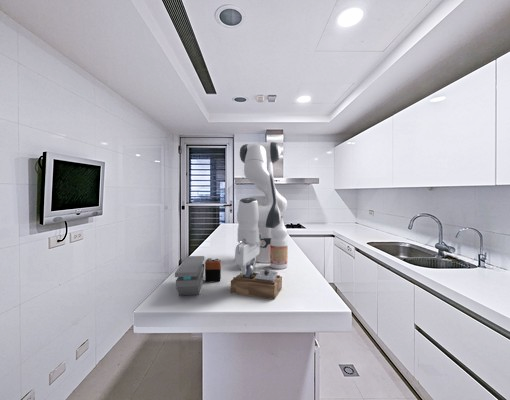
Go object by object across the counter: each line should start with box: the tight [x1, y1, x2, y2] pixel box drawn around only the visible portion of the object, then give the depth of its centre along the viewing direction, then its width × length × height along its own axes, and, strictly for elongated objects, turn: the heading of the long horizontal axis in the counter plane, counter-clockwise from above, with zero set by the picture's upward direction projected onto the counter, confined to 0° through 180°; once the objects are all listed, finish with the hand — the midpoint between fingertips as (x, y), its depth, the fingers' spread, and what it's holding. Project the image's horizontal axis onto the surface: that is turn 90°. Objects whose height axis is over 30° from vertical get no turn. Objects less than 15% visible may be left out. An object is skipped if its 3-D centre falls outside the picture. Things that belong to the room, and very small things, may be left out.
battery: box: [204, 257, 222, 283], centre depth 115 cm, size 4×7×10 cm, turn 93°
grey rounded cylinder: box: [243, 264, 254, 279], centre depth 104 cm, size 4×4×10 cm
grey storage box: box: [174, 255, 205, 296], centre depth 104 cm, size 25×8×11 cm, turn 5°
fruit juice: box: [269, 215, 289, 270], centre depth 138 cm, size 9×9×28 cm
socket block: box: [230, 271, 283, 300], centre depth 103 cm, size 12×18×6 cm, turn 71°
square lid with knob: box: [256, 269, 278, 282], centre depth 101 cm, size 7×7×4 cm
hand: (248, 270), depth 104 cm, fingers open, 8 cm apart
